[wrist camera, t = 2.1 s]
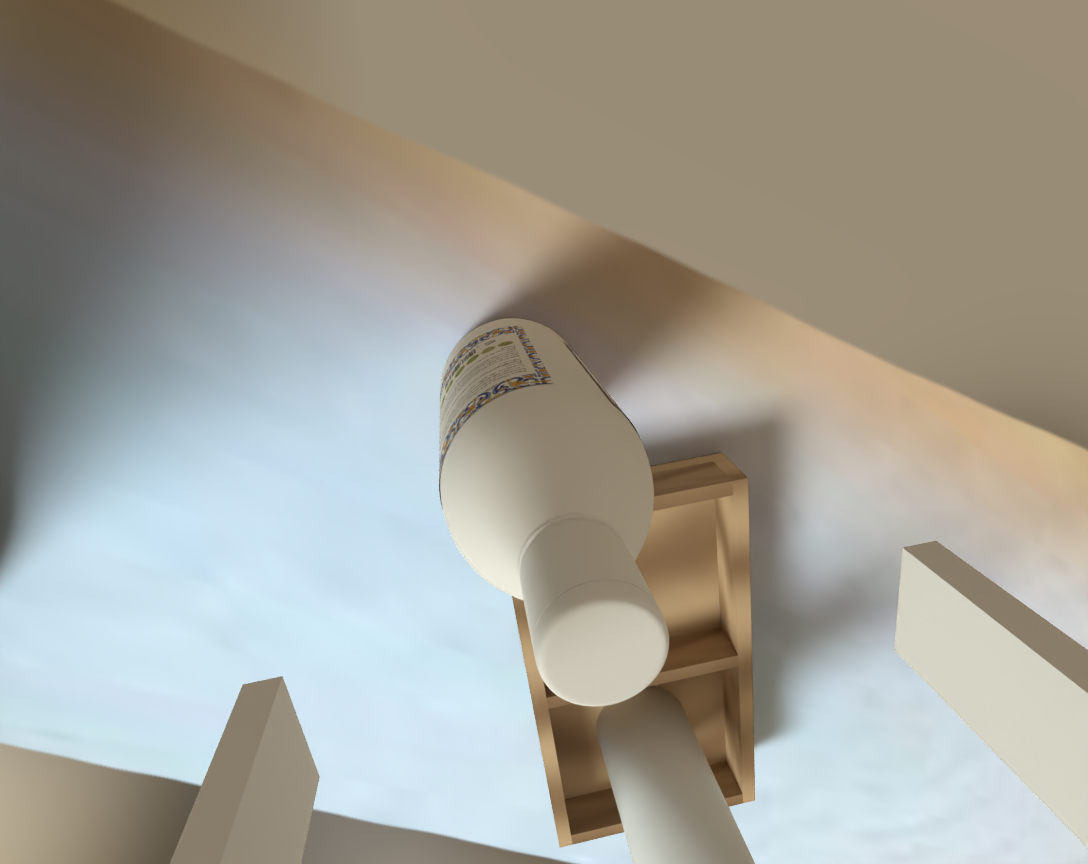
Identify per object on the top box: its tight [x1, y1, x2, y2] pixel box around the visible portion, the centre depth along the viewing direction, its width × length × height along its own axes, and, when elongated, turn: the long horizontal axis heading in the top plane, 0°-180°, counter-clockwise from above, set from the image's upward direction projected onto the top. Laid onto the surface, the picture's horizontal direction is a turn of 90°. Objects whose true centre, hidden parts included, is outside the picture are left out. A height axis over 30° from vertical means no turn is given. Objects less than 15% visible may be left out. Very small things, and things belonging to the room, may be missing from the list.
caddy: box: [512, 453, 755, 847], centre depth 37 cm, size 23×13×3 cm, turn 8°
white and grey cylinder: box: [596, 686, 755, 864], centre depth 34 cm, size 6×6×13 cm
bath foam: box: [439, 318, 669, 706], centre depth 23 cm, size 7×7×20 cm
